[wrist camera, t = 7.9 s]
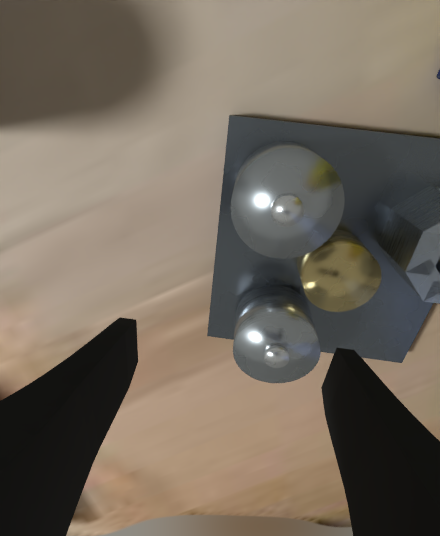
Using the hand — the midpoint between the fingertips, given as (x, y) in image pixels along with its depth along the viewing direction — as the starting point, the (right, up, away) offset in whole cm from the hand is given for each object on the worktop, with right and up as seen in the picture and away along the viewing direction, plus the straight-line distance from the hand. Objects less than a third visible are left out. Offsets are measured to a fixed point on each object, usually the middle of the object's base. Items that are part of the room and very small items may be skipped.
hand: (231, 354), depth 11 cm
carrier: (+6, +4, +8) cm, 11 cm away
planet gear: (+11, +5, +6) cm, 14 cm away
